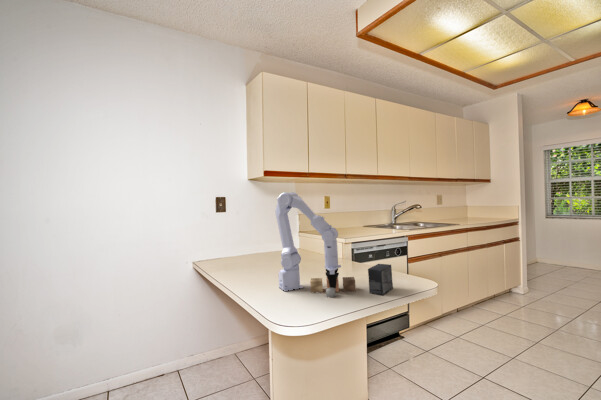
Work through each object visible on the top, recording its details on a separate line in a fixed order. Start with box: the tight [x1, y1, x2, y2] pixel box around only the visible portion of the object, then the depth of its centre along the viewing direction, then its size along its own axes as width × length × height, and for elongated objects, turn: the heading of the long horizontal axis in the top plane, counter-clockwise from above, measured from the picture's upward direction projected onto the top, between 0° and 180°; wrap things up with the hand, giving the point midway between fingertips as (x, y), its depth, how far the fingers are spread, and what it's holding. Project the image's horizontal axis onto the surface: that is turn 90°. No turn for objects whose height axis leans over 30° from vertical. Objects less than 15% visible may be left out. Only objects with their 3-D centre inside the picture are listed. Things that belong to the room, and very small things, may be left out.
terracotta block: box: [326, 276, 340, 293], centre depth 129 cm, size 5×5×5 cm
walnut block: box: [342, 276, 357, 293], centre depth 129 cm, size 5×5×5 cm
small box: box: [367, 263, 394, 296], centre depth 125 cm, size 11×6×10 cm, turn 141°
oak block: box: [310, 277, 324, 293], centre depth 130 cm, size 5×5×5 cm
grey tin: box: [325, 287, 337, 299], centre depth 122 cm, size 4×4×3 cm
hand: (332, 286), depth 129 cm, fingers closed on terracotta block, 5 cm apart
